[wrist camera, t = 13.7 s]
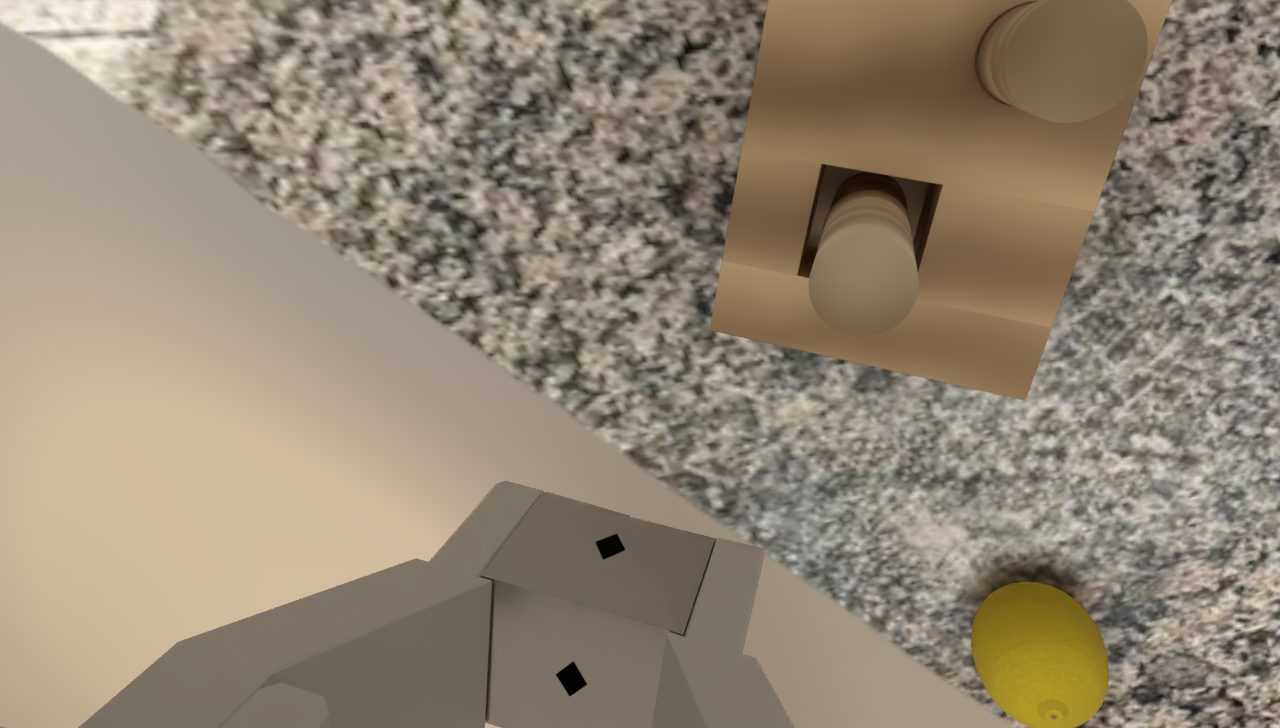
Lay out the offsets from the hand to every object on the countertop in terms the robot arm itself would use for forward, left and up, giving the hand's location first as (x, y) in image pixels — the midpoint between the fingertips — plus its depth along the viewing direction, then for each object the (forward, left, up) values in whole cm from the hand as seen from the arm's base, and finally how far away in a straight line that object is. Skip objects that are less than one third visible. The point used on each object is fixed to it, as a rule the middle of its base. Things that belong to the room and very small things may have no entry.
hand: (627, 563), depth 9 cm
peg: (+1, +2, -27) cm, 27 cm away
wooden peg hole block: (-1, +3, -29) cm, 30 cm away
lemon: (+19, +14, -30) cm, 38 cm away
